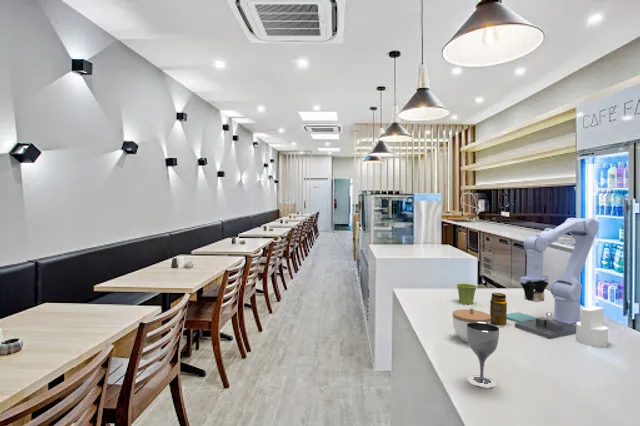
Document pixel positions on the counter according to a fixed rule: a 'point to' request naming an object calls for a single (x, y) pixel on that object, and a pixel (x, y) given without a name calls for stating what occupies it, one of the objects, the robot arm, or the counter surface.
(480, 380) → the wine glass
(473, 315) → the lidded bowl
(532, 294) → the robot arm
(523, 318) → the mat
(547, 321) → the brushed metal panel
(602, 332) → the cylinder with rectangular tab
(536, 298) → the collar
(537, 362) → the counter surface
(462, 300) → the plant pot
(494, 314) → the condiment
